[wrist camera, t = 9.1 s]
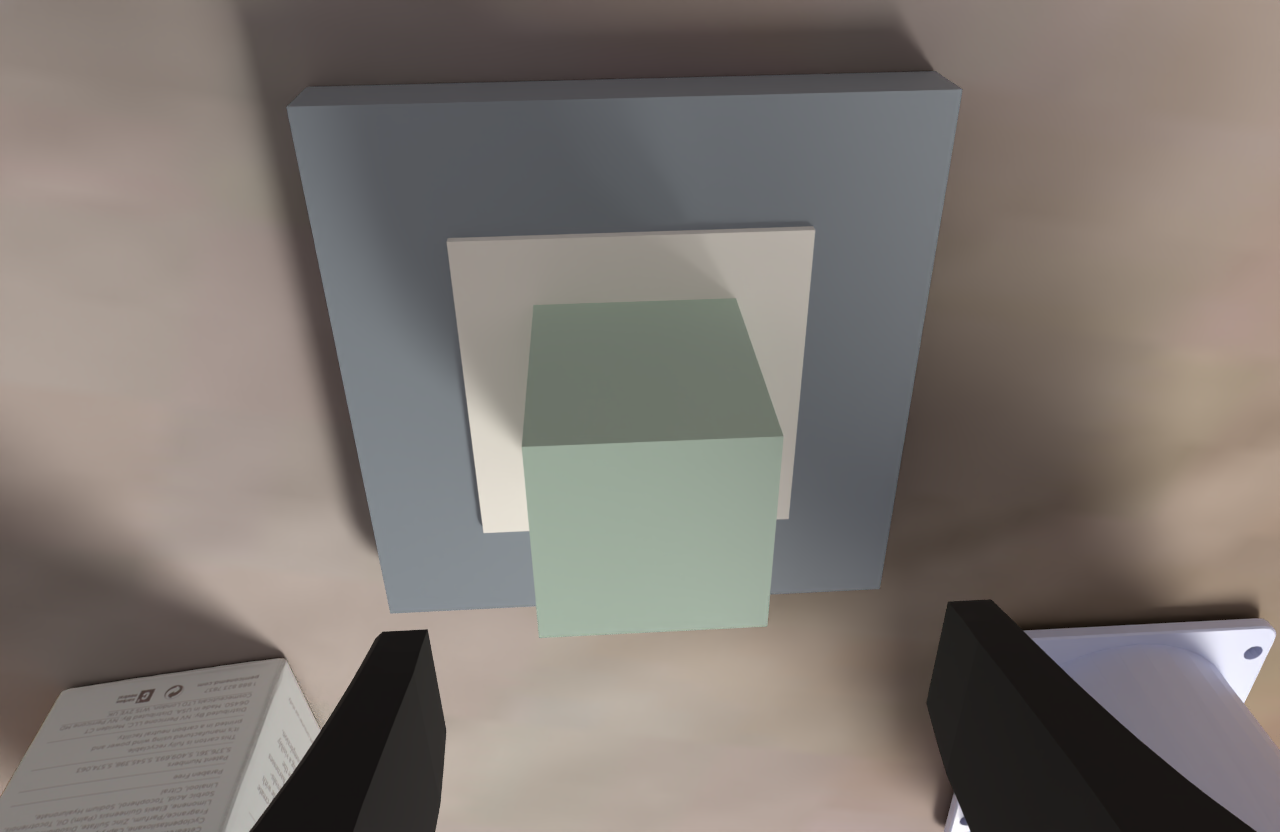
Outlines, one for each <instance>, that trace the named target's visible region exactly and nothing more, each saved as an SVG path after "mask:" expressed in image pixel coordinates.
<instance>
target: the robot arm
mask: <svg viewBox="0 0 1280 832" xmlns="http://www.w3.org/2000/svg"><path fill="white" fill-rule="evenodd" d="M1275 636H1276V631H1275V629H1274V628H1273V627H1272V626H1271V625H1270V623H1269V622H1268V621H1266V620H1264V619H1259V618H1253V619H1234V620H1215V621H1196V622H1177V623H1158V624H1139V625H1120V626H1100V627H1081V628H1062V629H1043V630H1024V631H1023V630H1022V629H1021V628H1020V627H1019V626H1018V625H1017V624H1016V623H1015V622H1014V621H1013V620H1012V619H1011V618H1010V617H1009V616H1008V615H1007V614H1006V613H1005V612H1003V611H1002V610H1001V609H1000V608H999V607H998V606H997V605H996V604H995V603H994V602H993V601H992V600H973V601H954V602H948V604H947V609H946V614H945V618H944V623H943V628H942V632H941V637H940V642H939V646H938V651H937V656H936V660H935V665H934V670H933V674H932V679H931V684H930V688H929V693H928V698H927V707H928V711H929V714H930V718H931V722H932V725H933V729H934V733H935V736H936V740H937V744H938V747H939V750H940V754H941V757H942V760H943V764H944V767H945V770H946V773H947V776H948V778H949V781H950V783H951V786H952V788H953V791H954V794H953V798H952V802H951V806H950V810H949V813H948V817H947V821H946V825H945V829H944V832H1280V750H1279V749H1278V747H1277V746H1276V745H1275V743H1274V742H1273V741H1272V739H1271V738H1270V737H1269V736H1268V734H1267V733H1266V732H1265V730H1264V729H1263V728H1262V726H1261V725H1260V724H1259V722H1258V721H1257V720H1256V719H1255V717H1254V716H1253V715H1252V713H1251V712H1250V711H1249V709H1248V708H1247V707H1246V705H1245V704H1244V702H1245V700H1246V698H1247V696H1248V694H1249V692H1250V689H1251V687H1252V685H1253V683H1254V681H1255V679H1256V677H1257V675H1258V673H1259V671H1260V669H1261V667H1262V664H1263V662H1264V660H1265V658H1266V656H1267V654H1268V652H1269V650H1270V648H1271V646H1272V644H1273V642H1274V640H1275ZM445 741H446V726H445V721H444V716H443V710H442V705H441V699H440V694H439V689H438V683H437V678H436V672H435V667H434V661H433V656H432V651H431V645H430V640H429V634H428V629H427V630H409V631H390V632H382V633H381V634H380V635H379V636H378V637H377V638H376V639H375V640H374V642H373V644H372V646H371V648H370V650H369V652H368V653H367V655H366V657H365V659H364V661H363V662H362V664H361V666H360V668H359V669H358V671H357V673H356V675H355V676H354V678H353V680H352V681H351V683H350V685H349V686H348V688H347V690H346V692H345V693H344V695H343V696H342V698H341V700H340V701H339V703H338V704H337V706H336V708H335V709H334V711H333V713H332V714H331V716H330V717H329V719H328V720H327V722H326V724H325V725H324V727H323V728H322V730H321V731H320V733H319V734H318V736H317V737H316V739H315V740H314V742H313V743H312V745H311V746H310V748H309V749H308V751H307V752H306V754H305V755H304V757H303V758H302V760H301V761H300V763H299V764H298V766H297V767H296V769H295V770H294V771H293V773H292V774H291V776H290V777H289V778H288V780H287V781H286V783H285V784H284V785H283V787H282V788H281V789H280V791H279V792H278V793H277V795H276V796H275V797H274V799H273V800H272V802H271V803H270V804H269V806H268V807H267V808H266V810H265V811H264V812H263V814H262V815H261V817H260V818H259V819H258V821H257V822H256V823H255V825H254V826H253V827H252V828H251V830H250V831H249V832H435V830H436V824H437V819H438V814H439V808H440V802H441V791H442V779H443V768H444V754H445Z"/></svg>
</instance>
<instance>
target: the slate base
mask: <svg viewBox="0 0 1280 832" xmlns="http://www.w3.org/2000/svg"><path fill="white" fill-rule="evenodd" d="M962 90H963V89H961V88H960V87H958V86H957V85H955V84H954V83H952V82H951V81H949V80H948V79H946V78H945V77H943V76H942V75H940V74H939V73H937V72H936V71H920V72H880V73H840V74H800V75H759V76H719V77H679V78H639V79H599V80H558V81H518V82H478V83H438V84H398V85H358V86H317V87H306V88H305V89H304V90H303V91H302V92H301V93H300V94H299V95H298V96H297V97H296V98H295V99H294V100H293V101H292V102H291V103H290V104H289V105H288V106H287V107H286V108H287V113H288V118H289V122H290V127H291V132H292V137H293V142H294V147H295V152H296V157H297V161H298V166H299V171H300V176H301V181H302V186H303V191H304V195H305V200H306V205H307V210H308V215H309V220H310V225H311V229H312V234H313V239H314V244H315V249H316V254H317V259H318V263H319V268H320V273H321V278H322V283H323V288H324V293H325V298H326V302H327V307H328V312H329V317H330V322H331V327H332V332H333V336H334V341H335V346H336V351H337V356H338V361H339V366H340V370H341V375H342V380H343V385H344V390H345V395H346V400H347V404H348V409H349V414H350V419H351V424H352V429H353V434H354V439H355V443H356V448H357V453H358V458H359V463H360V468H361V473H362V477H363V482H364V487H365V492H366V497H367V502H368V507H369V511H370V516H371V521H372V526H373V531H374V536H375V541H376V545H377V550H378V555H379V560H380V565H381V570H382V575H383V580H384V584H385V589H386V594H387V599H388V604H389V609H390V613H409V612H429V611H449V610H469V609H489V608H509V607H529V606H536V598H535V587H534V577H533V566H532V555H531V544H530V533H529V522H528V511H527V500H526V489H525V478H524V467H523V456H522V438H523V425H524V413H525V401H526V389H527V377H528V365H529V353H530V341H531V329H532V317H533V305H550V304H580V303H609V302H639V301H668V300H698V299H727V298H736V300H737V303H738V306H739V309H740V311H741V314H742V317H743V320H744V323H745V326H746V329H747V332H748V335H749V338H750V340H751V343H752V346H753V349H754V352H755V355H756V358H757V361H758V364H759V366H760V369H761V372H762V375H763V378H764V381H765V384H766V387H767V390H768V393H769V395H770V398H771V401H772V404H773V407H774V410H775V413H776V416H777V419H778V422H779V424H780V427H781V430H782V433H783V436H784V438H783V449H782V461H781V473H780V484H779V496H778V507H777V519H776V531H775V542H774V554H773V565H772V577H771V589H770V594H789V593H809V592H829V591H849V590H869V589H880V584H881V578H882V572H883V566H884V560H885V554H886V548H887V542H888V536H889V530H890V524H891V518H892V512H893V506H894V500H895V494H896V488H897V482H898V476H899V470H900V464H901V458H902V451H903V445H904V439H905V433H906V427H907V421H908V415H909V409H910V403H911V397H912V391H913V385H914V379H915V373H916V367H917V361H918V355H919V349H920V343H921V337H922V331H923V325H924V319H925V313H926V307H927V301H928V295H929V289H930V283H931V277H932V271H933V264H934V258H935V252H936V246H937V240H938V234H939V228H940V222H941V216H942V210H943V204H944V198H945V192H946V186H947V180H948V174H949V168H950V162H951V156H952V150H953V144H954V138H955V132H956V126H957V120H958V114H959V108H960V102H961V96H962Z"/></svg>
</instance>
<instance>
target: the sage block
mask: <svg viewBox="0 0 1280 832" xmlns="http://www.w3.org/2000/svg"><path fill="white" fill-rule="evenodd" d="M783 438H784V436H783V433H782V430H781V427H780V424H779V422H778V419H777V416H776V413H775V410H774V407H773V404H772V401H771V398H770V395H769V393H768V390H767V387H766V384H765V381H764V378H763V375H762V372H761V369H760V366H759V364H758V361H757V358H756V355H755V352H754V349H753V346H752V343H751V340H750V338H749V335H748V332H747V329H746V326H745V323H744V320H743V317H742V314H741V311H740V309H739V306H738V303H737V300H736V298H727V299H698V300H668V301H639V302H609V303H580V304H550V305H533V317H532V329H531V341H530V353H529V365H528V377H527V389H526V401H525V413H524V425H523V438H522V456H523V467H524V478H525V489H526V500H527V511H528V522H529V533H530V544H531V555H532V566H533V577H534V587H535V598H536V609H537V620H538V631H539V638H547V637H567V636H587V635H607V634H627V633H647V632H667V631H687V630H707V629H727V628H747V627H767V623H768V612H769V600H770V589H771V577H772V565H773V554H774V542H775V531H776V519H777V507H778V496H779V484H780V473H781V461H782V449H783Z"/></svg>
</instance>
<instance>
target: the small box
mask: <svg viewBox="0 0 1280 832" xmlns="http://www.w3.org/2000/svg"><path fill="white" fill-rule="evenodd" d="M320 731H321V730H320V728H319V726H318V724H317V722H316V720H315V718H314V716H313V714H312V712H311V709H310V707H309V705H308V703H307V701H306V699H305V697H304V695H303V693H302V691H301V689H300V687H299V685H298V682H297V680H296V678H295V676H294V674H293V672H292V670H291V668H290V666H289V664H288V662H287V661H286V660H285V659H283V658H276V659H269V660H262V661H252V662H245V663H239V664H232V665H224V666H217V667H211V668H204V669H197V670H190V671H183V672H177V673H169V674H161V675H155V676H149V677H141V678H134V679H128V680H122V681H116V682H110V683H103V684H96V685H90V686H84V687H77V688H70V689H67V690H64V691H62V692H61V694H60V695H59V696H58V698H57V699H56V701H55V703H54V705H53V706H52V708H51V710H50V712H49V713H48V715H47V717H46V718H45V720H44V722H43V724H42V725H41V727H40V729H39V731H38V732H37V734H36V736H35V737H34V739H33V741H32V742H31V744H30V746H29V748H28V750H27V752H26V753H25V755H24V757H23V759H22V760H21V762H20V764H19V765H18V767H17V769H16V770H15V772H14V774H13V775H12V777H11V779H10V781H9V782H8V784H7V786H6V788H5V789H4V791H3V793H2V795H1V796H0V832H249V831H250V830H251V828H252V827H253V826H254V825H255V823H256V822H257V821H258V819H259V818H260V817H261V815H262V814H263V812H264V811H265V810H266V808H267V807H268V806H269V804H270V803H271V802H272V800H273V799H274V797H275V796H276V795H277V793H278V792H279V791H280V789H281V788H282V787H283V785H284V784H285V783H286V781H287V780H288V778H289V777H290V776H291V774H292V773H293V771H294V770H295V769H296V767H297V766H298V764H299V763H300V761H301V760H302V758H303V757H304V755H305V754H306V752H307V751H308V749H309V748H310V746H311V745H312V743H313V742H314V740H315V739H316V737H317V736H318V734H319V733H320Z"/></svg>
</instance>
